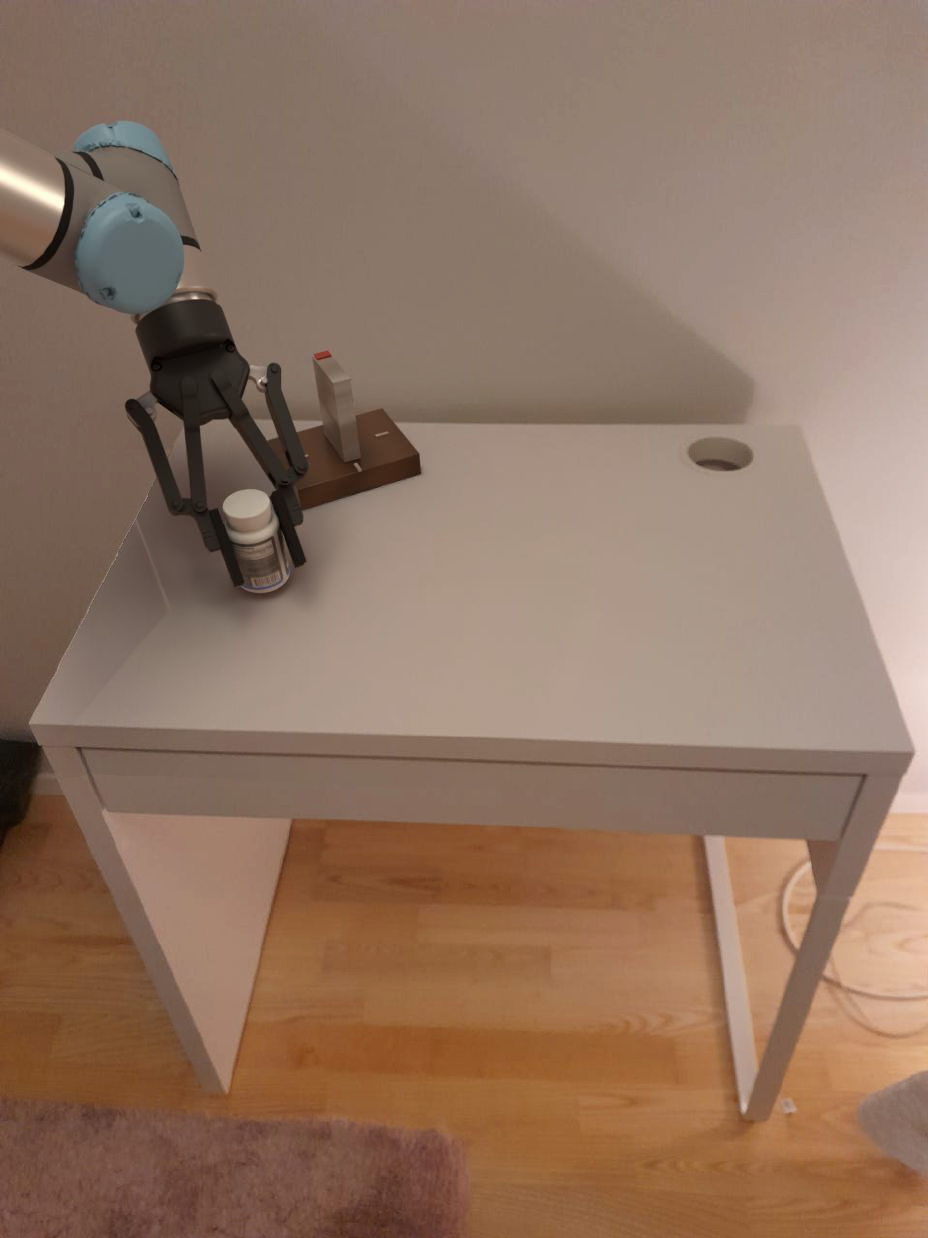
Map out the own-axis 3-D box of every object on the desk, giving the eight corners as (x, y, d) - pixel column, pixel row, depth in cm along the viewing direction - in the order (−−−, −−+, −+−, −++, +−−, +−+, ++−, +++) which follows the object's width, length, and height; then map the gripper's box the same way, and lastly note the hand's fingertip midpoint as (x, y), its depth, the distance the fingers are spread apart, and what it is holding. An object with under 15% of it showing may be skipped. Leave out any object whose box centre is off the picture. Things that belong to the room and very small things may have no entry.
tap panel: (302, 510, 93) (297, 488, 91) (271, 459, 100) (266, 438, 98) (421, 474, 97) (420, 452, 95) (384, 427, 104) (381, 405, 102)
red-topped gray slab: (361, 458, 95) (350, 375, 88) (344, 463, 94) (332, 380, 88) (340, 429, 99) (328, 348, 92) (324, 434, 98) (311, 353, 92)
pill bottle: (253, 556, 87) (235, 481, 81) (299, 565, 86) (284, 490, 80) (228, 588, 84) (206, 513, 78) (274, 599, 83) (257, 524, 77)
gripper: (274, 308, 86) (359, 549, 86) (74, 355, 81) (167, 612, 81) (282, 272, 79) (375, 536, 79) (64, 322, 73) (165, 604, 74)
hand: (270, 574), depth 80 cm, fingers closed on pill bottle, 5 cm apart
